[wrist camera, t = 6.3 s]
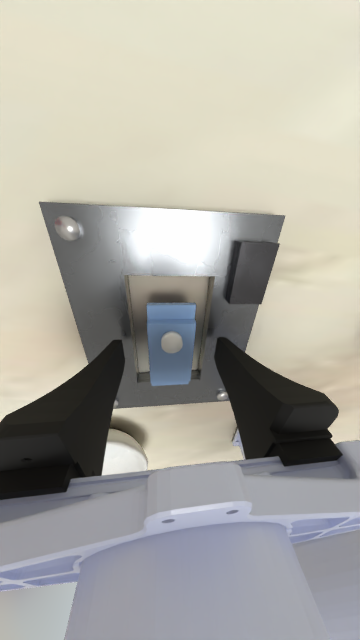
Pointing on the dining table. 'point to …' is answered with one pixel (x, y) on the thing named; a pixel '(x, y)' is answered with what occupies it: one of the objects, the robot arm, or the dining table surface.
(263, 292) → the plate
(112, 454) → the spoon rest
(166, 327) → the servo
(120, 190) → the dining table surface
